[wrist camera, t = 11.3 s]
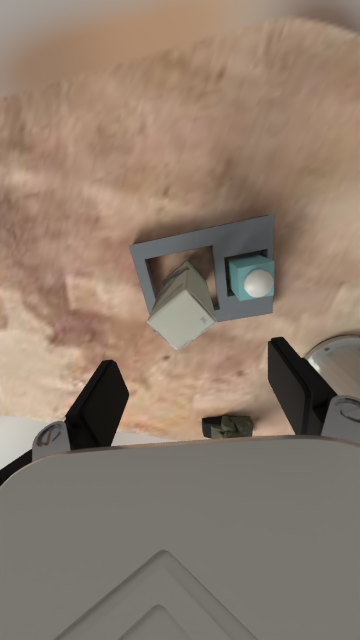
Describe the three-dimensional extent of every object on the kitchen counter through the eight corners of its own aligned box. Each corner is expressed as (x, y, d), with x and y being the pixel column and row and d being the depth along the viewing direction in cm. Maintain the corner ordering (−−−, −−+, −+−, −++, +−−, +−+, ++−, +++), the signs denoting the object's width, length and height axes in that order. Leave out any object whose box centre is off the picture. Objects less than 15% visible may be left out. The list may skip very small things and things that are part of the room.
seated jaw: (256, 253, 26) (278, 262, 20) (256, 281, 28) (277, 298, 22) (227, 259, 27) (239, 270, 20) (229, 286, 28) (241, 304, 22)
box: (187, 258, 27) (188, 284, 15) (206, 281, 28) (221, 321, 17) (160, 283, 28) (143, 322, 17) (180, 303, 30) (176, 353, 18)
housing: (267, 214, 24) (274, 214, 22) (267, 307, 30) (272, 313, 28) (132, 244, 26) (128, 245, 24) (156, 326, 32) (154, 332, 30)
